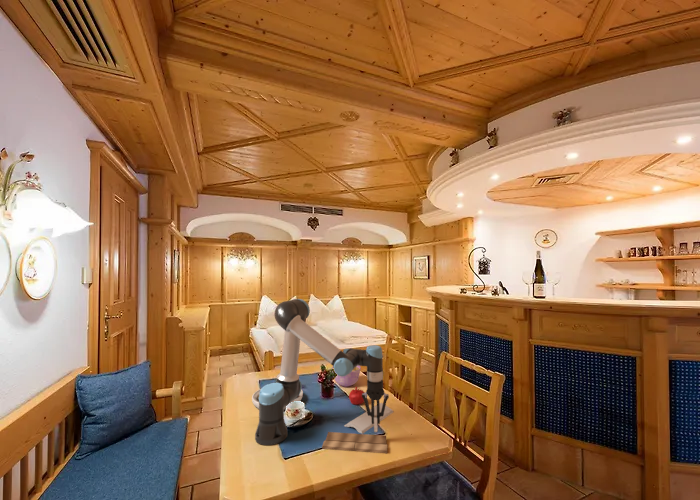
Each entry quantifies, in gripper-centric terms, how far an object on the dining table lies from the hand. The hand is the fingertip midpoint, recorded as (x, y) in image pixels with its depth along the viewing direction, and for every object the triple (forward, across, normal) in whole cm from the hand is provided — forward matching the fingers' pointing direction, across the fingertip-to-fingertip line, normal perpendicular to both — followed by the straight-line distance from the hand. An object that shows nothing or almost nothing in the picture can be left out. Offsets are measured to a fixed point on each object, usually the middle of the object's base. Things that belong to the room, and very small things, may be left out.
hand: (375, 430), depth 148 cm
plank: (+4, -9, -2) cm, 10 cm away
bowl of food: (+4, -24, +67) cm, 71 cm away
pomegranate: (+5, -13, +39) cm, 42 cm away
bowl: (+5, -61, +35) cm, 71 cm away
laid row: (+4, -9, -7) cm, 13 cm away
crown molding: (+5, -4, +20) cm, 22 cm away
